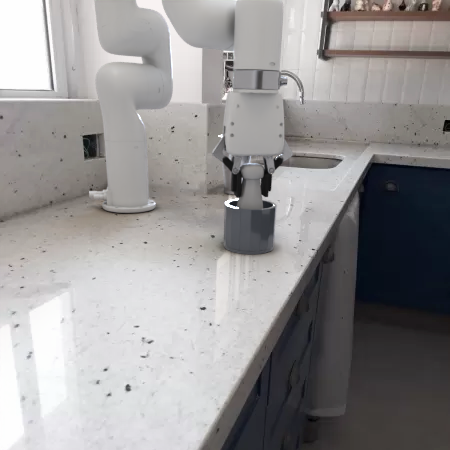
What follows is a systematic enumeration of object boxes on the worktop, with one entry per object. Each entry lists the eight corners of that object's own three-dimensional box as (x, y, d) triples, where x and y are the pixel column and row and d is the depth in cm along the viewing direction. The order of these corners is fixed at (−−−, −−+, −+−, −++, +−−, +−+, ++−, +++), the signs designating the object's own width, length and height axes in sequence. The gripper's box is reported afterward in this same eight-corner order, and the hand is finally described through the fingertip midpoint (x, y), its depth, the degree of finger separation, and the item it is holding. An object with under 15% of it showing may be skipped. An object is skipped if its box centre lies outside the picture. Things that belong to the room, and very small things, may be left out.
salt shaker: (242, 242, 85) (245, 167, 80) (227, 234, 90) (229, 162, 85) (270, 238, 88) (275, 165, 83) (254, 230, 93) (258, 161, 87)
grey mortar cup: (228, 255, 85) (230, 210, 82) (220, 240, 93) (221, 198, 90) (279, 253, 86) (282, 209, 83) (266, 239, 95) (268, 198, 91)
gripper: (298, 85, 84) (289, 191, 91) (201, 82, 81) (201, 192, 88) (312, 84, 77) (302, 199, 84) (208, 81, 74) (206, 200, 81)
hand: (250, 194), depth 86 cm, fingers closed on salt shaker, 4 cm apart
